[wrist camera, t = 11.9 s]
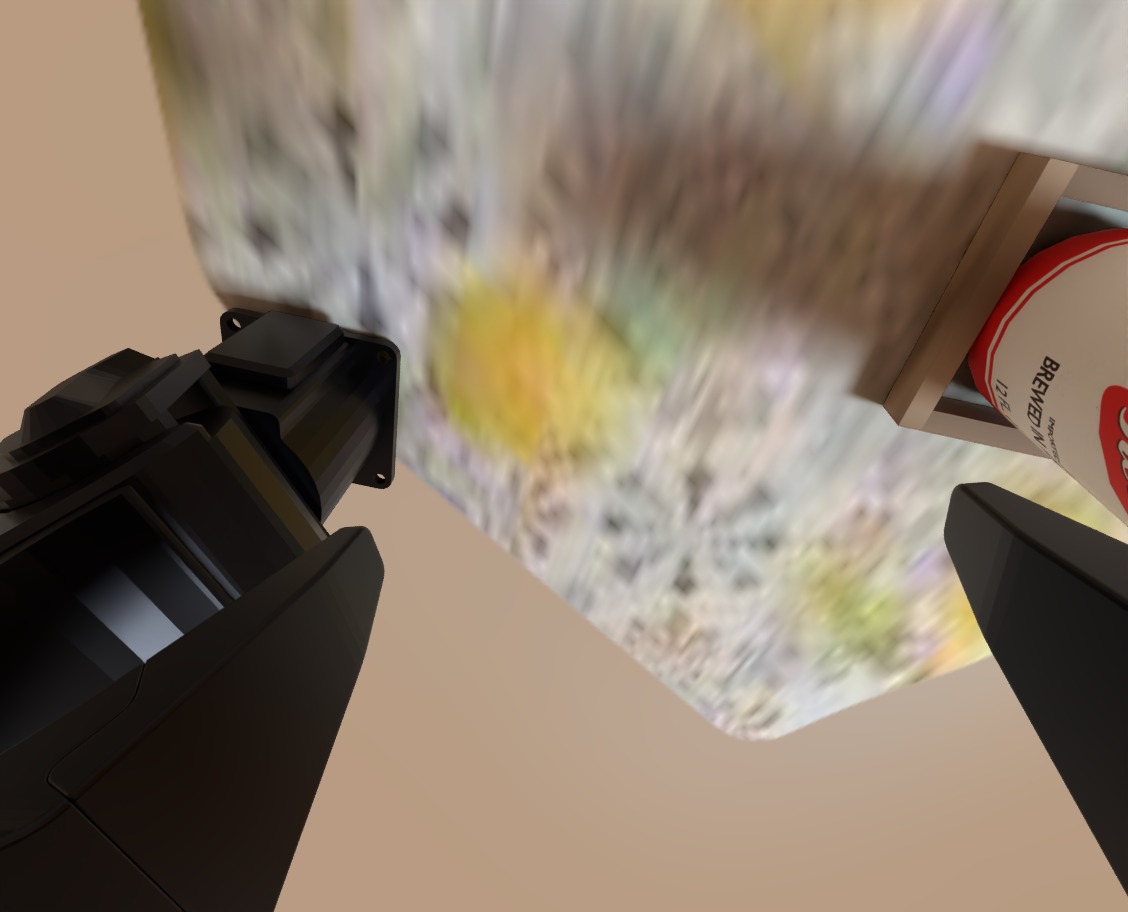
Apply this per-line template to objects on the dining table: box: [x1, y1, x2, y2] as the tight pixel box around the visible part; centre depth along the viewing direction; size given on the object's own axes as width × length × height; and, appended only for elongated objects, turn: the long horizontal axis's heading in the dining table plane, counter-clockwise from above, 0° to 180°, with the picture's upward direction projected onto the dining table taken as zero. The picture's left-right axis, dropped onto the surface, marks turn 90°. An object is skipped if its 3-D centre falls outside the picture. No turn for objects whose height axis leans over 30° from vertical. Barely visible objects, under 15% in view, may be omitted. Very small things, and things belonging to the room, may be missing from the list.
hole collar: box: [883, 152, 1128, 459], centre depth 19 cm, size 8×8×2 cm
